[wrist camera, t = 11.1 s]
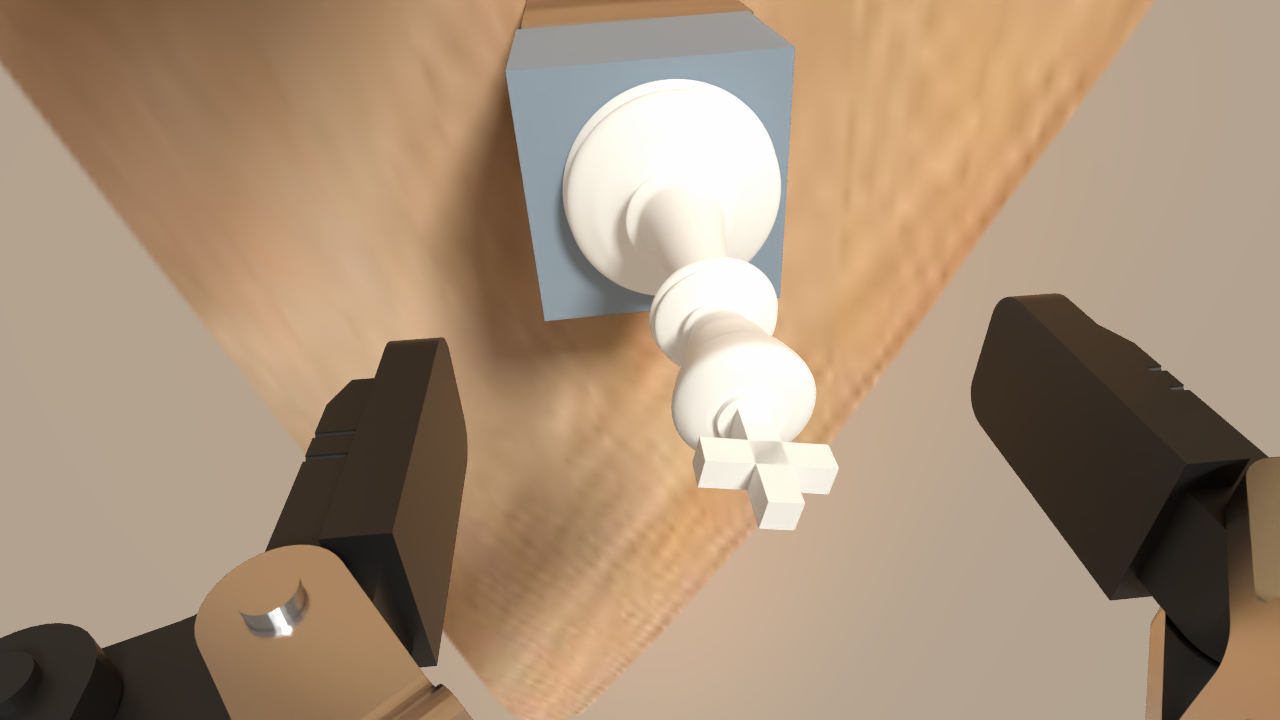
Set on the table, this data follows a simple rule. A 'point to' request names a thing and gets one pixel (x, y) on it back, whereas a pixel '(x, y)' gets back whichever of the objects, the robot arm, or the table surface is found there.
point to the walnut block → (618, 10)
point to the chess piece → (703, 279)
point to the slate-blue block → (596, 73)
